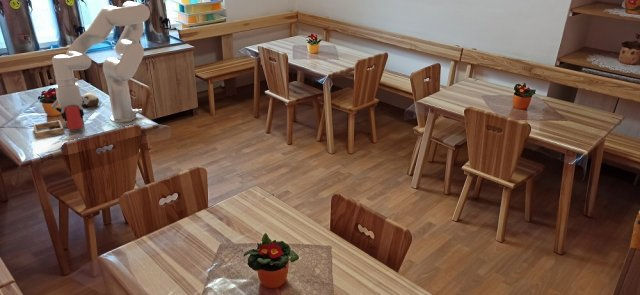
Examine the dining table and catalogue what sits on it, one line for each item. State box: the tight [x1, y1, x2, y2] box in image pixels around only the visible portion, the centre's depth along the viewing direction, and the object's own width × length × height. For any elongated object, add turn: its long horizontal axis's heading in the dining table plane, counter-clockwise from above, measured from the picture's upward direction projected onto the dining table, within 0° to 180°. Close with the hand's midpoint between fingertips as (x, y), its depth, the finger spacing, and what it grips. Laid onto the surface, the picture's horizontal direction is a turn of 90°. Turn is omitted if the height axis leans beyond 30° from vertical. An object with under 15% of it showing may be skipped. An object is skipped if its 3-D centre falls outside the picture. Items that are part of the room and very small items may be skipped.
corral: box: [32, 119, 65, 139], centre depth 230 cm, size 12×12×3 cm
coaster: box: [64, 125, 89, 137], centre depth 231 cm, size 9×9×1 cm
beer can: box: [64, 105, 84, 130], centre depth 228 cm, size 7×7×12 cm
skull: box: [81, 92, 100, 109], centre depth 262 cm, size 12×10×10 cm
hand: (73, 118), depth 228 cm, fingers closed on beer can, 6 cm apart
